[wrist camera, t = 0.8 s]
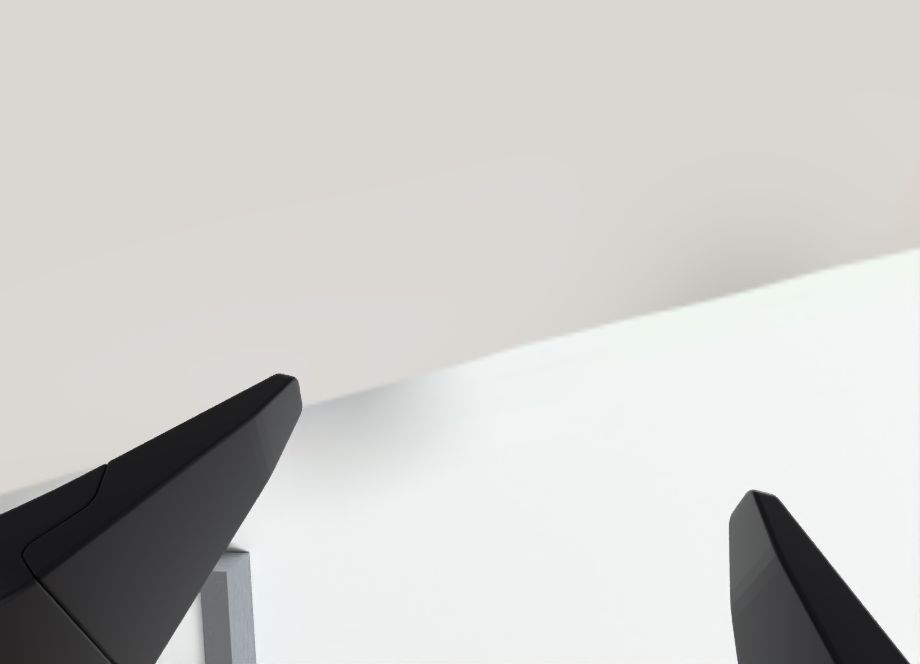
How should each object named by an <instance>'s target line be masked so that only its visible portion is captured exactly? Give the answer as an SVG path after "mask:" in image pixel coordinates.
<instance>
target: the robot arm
mask: <svg viewBox="0 0 920 664" xmlns="http://www.w3.org/2000/svg"><path fill="white" fill-rule="evenodd" d="M301 411H302V400H301V394H300V388H299V383H298V380H297V379H296V378H295V377H293V376H289V375H284V374H275V375H273V376H271V377H269V378H267V379H265V380H264V381H262V382H260V383H258V384H256V385H254V386H252V387H250V388H248V389H246V390H245V391H243V392H241V393H239V394H237V395H235V396H233V397H231V398H230V399H228V400H226V401H224V402H222V403H220V404H218V405H216V406H214V407H212V408H210V409H208V410H207V411H205V412H203V413H201V414H199V415H197V416H195V417H194V418H191V419H189V420H187V421H186V422H184V423H182V424H180V425H178V426H176V427H174V428H172V429H170V430H168V431H167V432H165V433H163V434H161V435H159V436H157V437H155V438H154V439H151V440H150V441H147V442H146V443H144V444H142V445H140V446H138V447H136V448H134V449H132V450H130V451H129V452H127V453H125V454H123V455H121V456H119V457H117V458H115V459H113V460H111V461H110V462H108V465H107V464H103V465H102V466H100V467H98V468H96V469H94V470H92V471H90V472H88V473H86V474H84V475H82V476H80V477H78V478H76V479H75V480H73V481H71V482H69V483H67V484H65V485H63V486H61V487H59V488H57V489H55V490H53V491H51V492H48V493H46V494H44V495H42V496H40V497H38V498H35V499H33V500H31V501H29V502H27V503H25V504H23V505H20V506H18V507H16V508H14V509H12V510H9V511H7V512H5V513H3V514H0V664H155V663H156V661H157V660H158V658H159V656H160V655H161V653H162V652H163V650H164V648H165V647H166V645H167V644H168V642H169V640H170V639H171V637H172V635H173V634H174V632H175V631H176V629H177V627H178V626H179V624H180V623H181V621H182V619H183V618H184V616H185V614H186V613H187V611H188V610H189V608H190V606H191V605H192V603H193V602H194V600H195V598H196V597H197V595H198V594H199V592H200V590H201V589H202V587H203V585H204V584H205V582H206V581H207V579H208V577H209V576H210V574H211V573H212V571H213V569H214V568H215V566H216V564H217V563H218V561H219V560H220V558H221V556H222V555H223V553H224V552H225V550H226V548H227V547H228V545H229V543H230V542H231V540H232V539H233V537H234V535H235V534H236V532H237V531H238V529H239V527H240V526H241V524H242V522H243V521H244V519H245V518H246V516H247V514H248V513H249V511H250V510H251V508H252V506H253V505H254V503H255V502H256V500H257V498H258V497H259V495H260V493H261V492H262V490H263V489H264V487H265V485H266V484H267V482H268V480H269V478H270V477H271V475H272V473H273V471H274V469H275V467H276V465H277V463H278V461H279V459H280V456H281V454H282V452H283V450H284V448H285V446H286V444H287V442H288V440H289V438H290V435H291V433H292V431H293V429H294V427H295V425H296V423H297V421H298V419H299V417H300V414H301ZM729 562H730V604H731V615H732V624H733V631H734V638H735V646H736V653H737V660H738V664H910V663H909V662H908V660H907V659H906V658H905V657H904V655H903V654H902V653H901V652H900V650H899V649H898V648H897V647H896V645H895V644H894V643H893V642H892V640H891V639H890V638H889V637H888V635H887V634H886V633H885V632H884V630H883V629H882V628H881V626H880V625H879V624H878V623H877V621H876V620H875V619H874V618H873V616H872V615H871V614H870V613H869V611H868V610H867V609H866V608H865V606H864V605H863V604H862V603H861V601H860V600H859V599H858V598H857V596H856V595H855V594H854V593H853V591H852V590H851V589H850V588H849V586H848V585H847V584H846V583H845V581H844V580H843V579H842V578H841V576H840V575H839V574H838V573H837V571H836V570H835V569H834V567H833V566H832V565H831V564H830V562H829V561H828V560H827V559H826V557H825V556H824V555H823V554H822V552H821V551H820V550H819V549H818V547H817V546H816V545H815V544H814V542H813V541H812V540H811V539H810V537H809V536H808V535H807V534H806V532H805V531H804V530H803V529H802V527H801V526H800V525H799V524H798V522H797V521H796V520H795V519H794V517H793V516H792V515H791V514H790V512H789V511H788V510H787V508H786V507H785V506H784V505H783V503H782V502H781V501H780V500H779V499H778V498H777V497H776V496H775V495H773V494H770V493H766V492H762V491H758V490H750V491H748V492H747V493H746V494H745V496H744V497H743V498H742V500H741V501H740V503H739V504H738V506H737V507H736V508H735V510H734V511H733V513H732V515H731V517H730V521H729Z"/></svg>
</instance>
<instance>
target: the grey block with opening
mask: <svg viewBox="0 0 920 664" xmlns="http://www.w3.org/2000/svg"><path fill="white" fill-rule="evenodd" d="M201 602H202V617H203V632H204V648H205V663H206V664H256V657H255V641H254V625H253V609H252V592H251V576H250V560H249V553H241V552H224V553H223V555H222V556H221V558H220V560H219V561H218V563H217V564H216V566H215V568H214V569H213V571H212V573H211V574H210V576H209V577H208V579H207V581H206V582H205V584H204V585H203V587H202V589H201Z"/></svg>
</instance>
